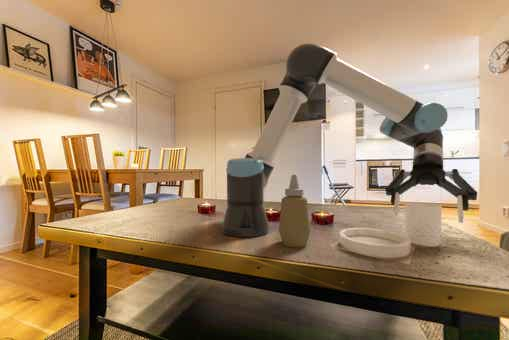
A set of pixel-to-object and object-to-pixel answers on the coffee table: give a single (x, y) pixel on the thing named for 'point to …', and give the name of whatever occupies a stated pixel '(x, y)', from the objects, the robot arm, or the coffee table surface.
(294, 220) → the squeeze bottle
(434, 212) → the white cup
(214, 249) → the coffee table surface
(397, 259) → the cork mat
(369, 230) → the dish
